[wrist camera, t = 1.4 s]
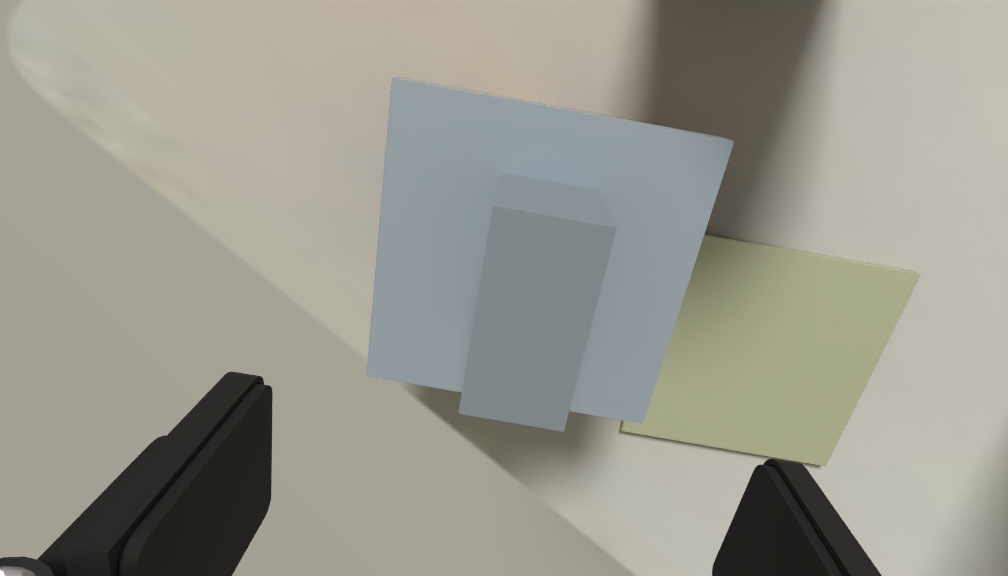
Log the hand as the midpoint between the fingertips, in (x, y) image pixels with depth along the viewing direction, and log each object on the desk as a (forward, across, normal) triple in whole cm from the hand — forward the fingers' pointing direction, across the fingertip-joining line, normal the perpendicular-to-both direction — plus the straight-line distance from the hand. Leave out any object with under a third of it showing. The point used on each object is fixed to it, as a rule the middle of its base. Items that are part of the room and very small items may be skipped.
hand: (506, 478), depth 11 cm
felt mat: (+20, -15, +6) cm, 26 cm away
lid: (+14, -1, 0) cm, 14 cm away
